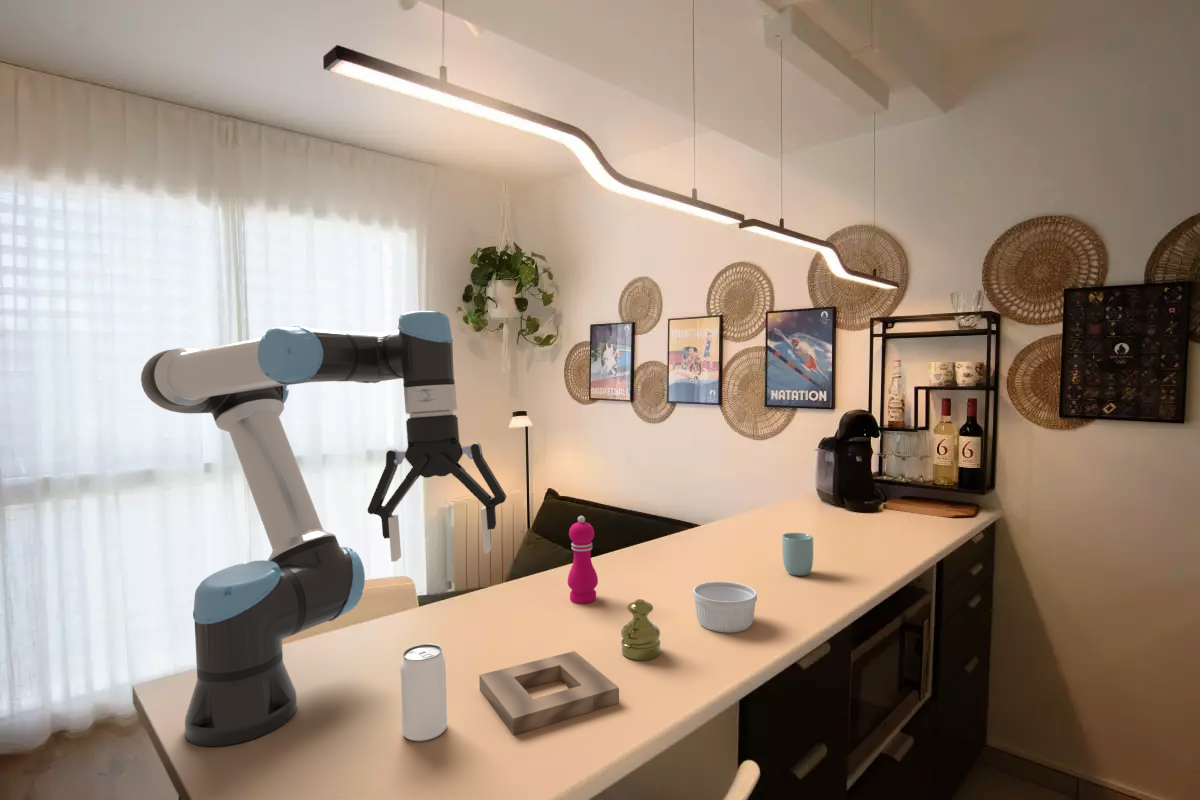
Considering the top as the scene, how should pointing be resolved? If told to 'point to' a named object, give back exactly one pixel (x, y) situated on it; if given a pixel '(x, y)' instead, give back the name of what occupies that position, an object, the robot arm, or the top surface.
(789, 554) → the cup
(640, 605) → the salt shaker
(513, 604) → the top surface
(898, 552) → the top surface
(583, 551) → the pepper mill
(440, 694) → the can
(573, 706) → the frame
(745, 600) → the ramekin
